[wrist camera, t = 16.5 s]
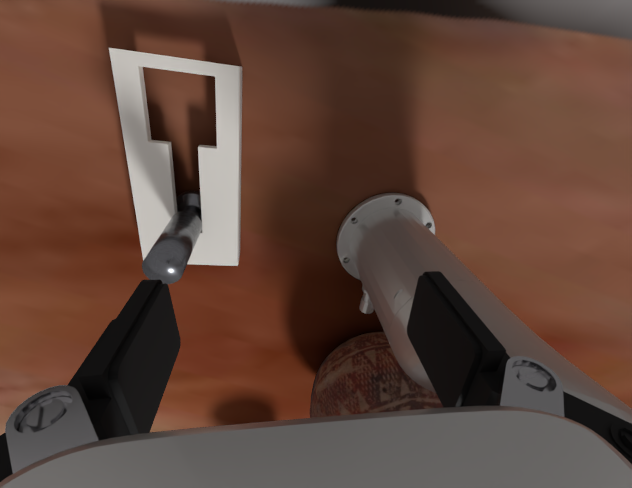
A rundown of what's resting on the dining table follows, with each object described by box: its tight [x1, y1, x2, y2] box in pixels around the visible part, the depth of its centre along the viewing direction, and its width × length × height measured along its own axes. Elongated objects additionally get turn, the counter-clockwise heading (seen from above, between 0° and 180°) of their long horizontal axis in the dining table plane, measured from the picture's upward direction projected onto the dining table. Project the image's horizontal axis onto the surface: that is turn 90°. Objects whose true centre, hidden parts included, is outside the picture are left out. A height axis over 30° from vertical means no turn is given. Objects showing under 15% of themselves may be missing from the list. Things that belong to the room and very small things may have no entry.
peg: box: [142, 190, 202, 284], centre depth 29 cm, size 4×4×12 cm
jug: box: [310, 332, 444, 418], centre depth 40 cm, size 22×21×25 cm
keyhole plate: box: [109, 48, 242, 266], centre depth 31 cm, size 20×10×3 cm, turn 173°
